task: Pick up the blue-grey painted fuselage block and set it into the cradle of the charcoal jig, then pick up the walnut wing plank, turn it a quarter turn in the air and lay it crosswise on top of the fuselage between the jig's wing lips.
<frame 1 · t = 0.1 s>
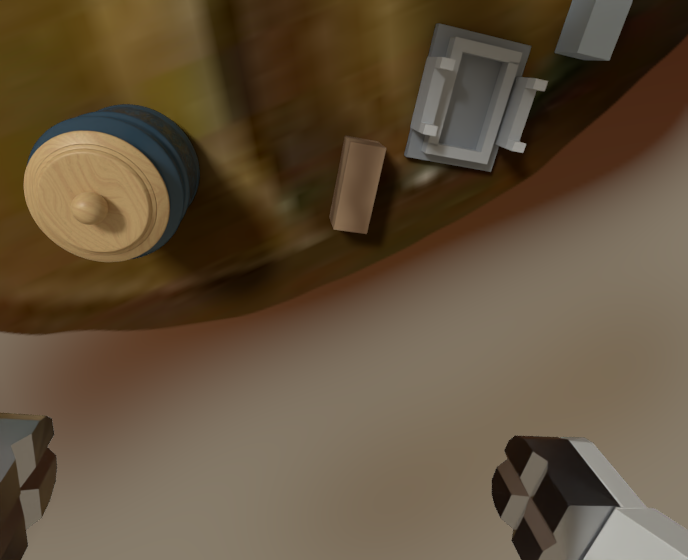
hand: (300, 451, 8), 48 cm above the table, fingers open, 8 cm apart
canister: (141, 164, 51), on the table
wing: (352, 180, 55), on the table
fuselage: (582, 17, 51), on the table
jig: (463, 102, 53), on the table
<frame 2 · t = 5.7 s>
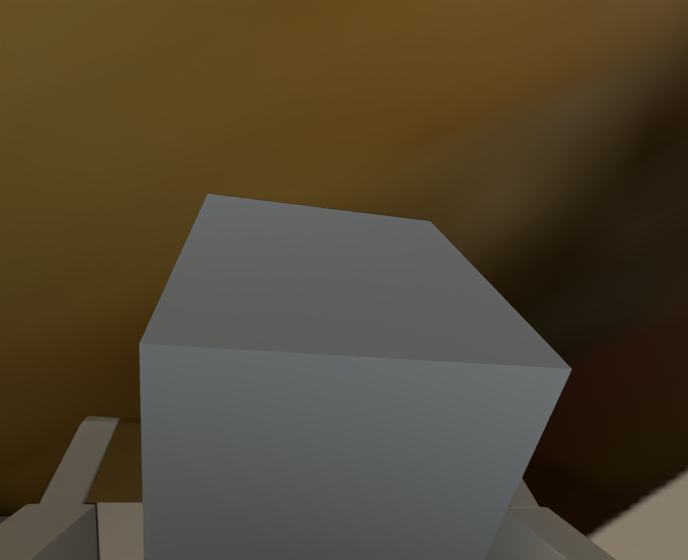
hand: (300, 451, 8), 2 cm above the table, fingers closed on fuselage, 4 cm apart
fuselage: (296, 387, 10), on the table, touching gripper
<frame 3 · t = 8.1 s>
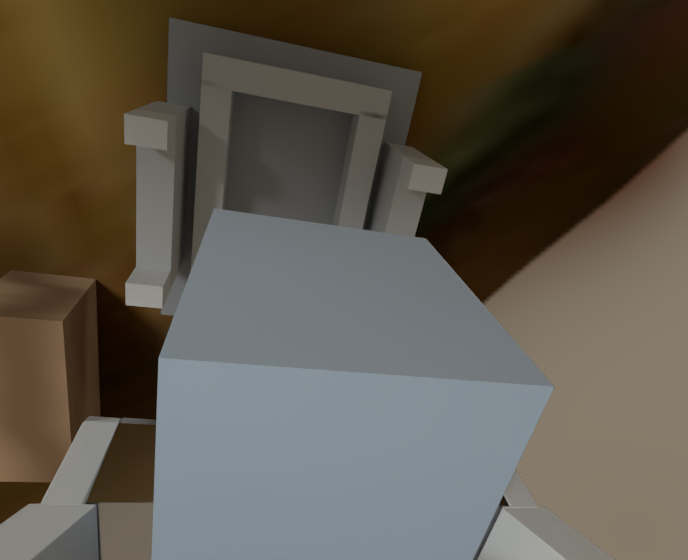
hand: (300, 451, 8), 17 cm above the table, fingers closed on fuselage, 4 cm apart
wing: (61, 352, 26), on the table
fuselage: (293, 395, 10), point 15 cm above the table, touching gripper
jig: (281, 197, 23), on the table
when the fingers open (5 cm above the table, at t = 10.9 s): fuselage drops 2 cm, resting on jig.
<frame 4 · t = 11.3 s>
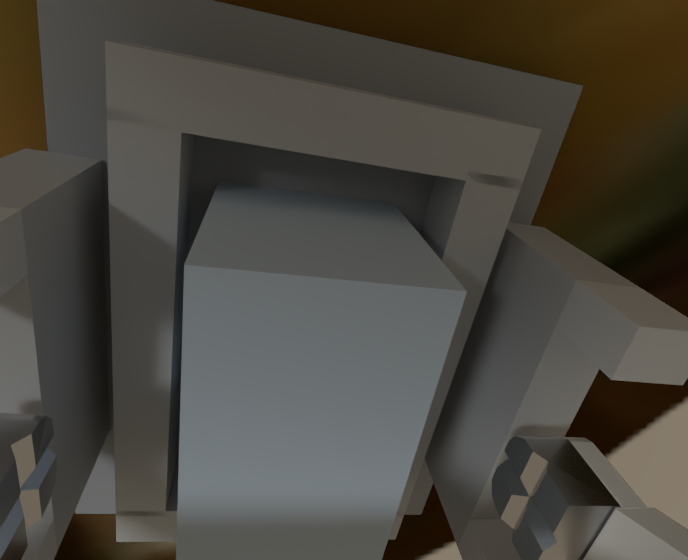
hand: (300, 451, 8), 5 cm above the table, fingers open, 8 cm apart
fuselage: (289, 340, 12), point 1 cm above the table, touching jig
jig: (291, 311, 13), on the table
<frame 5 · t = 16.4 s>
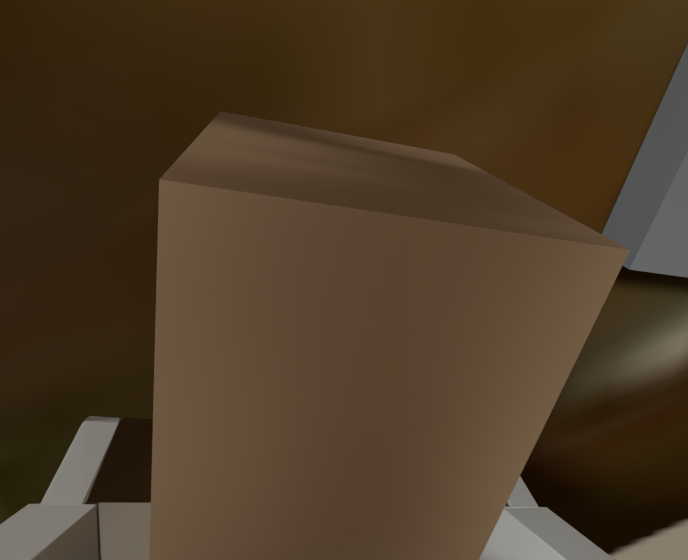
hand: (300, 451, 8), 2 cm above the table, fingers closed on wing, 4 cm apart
wing: (298, 373, 10), on the table, touching gripper
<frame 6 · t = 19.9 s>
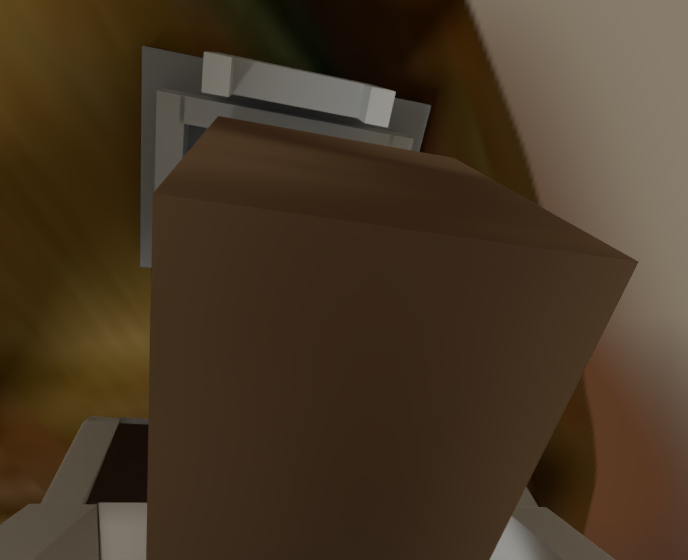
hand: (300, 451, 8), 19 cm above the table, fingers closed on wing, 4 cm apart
wing: (298, 380, 10), point 17 cm above the table, touching gripper
jig: (280, 183, 25), on the table
when the fingers open (8 cm above the table, at t = 23.1 s): wing stays where it is, resting on fuselage.
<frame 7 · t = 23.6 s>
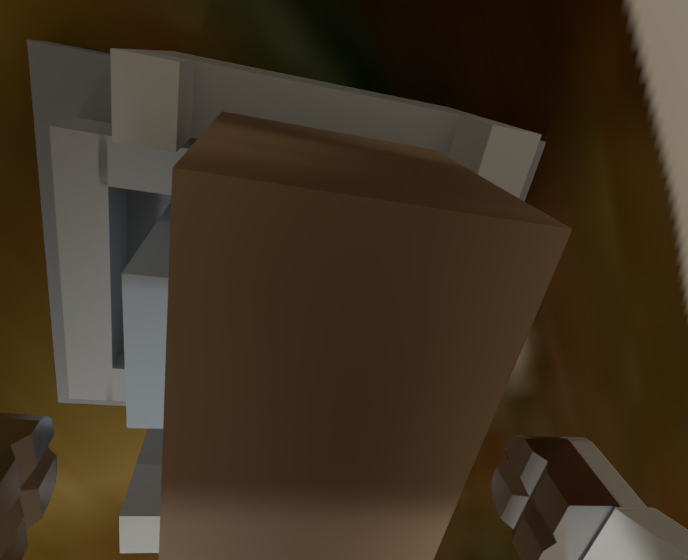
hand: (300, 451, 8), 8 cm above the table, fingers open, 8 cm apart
wing: (294, 356, 10), point 5 cm above the table, touching fuselage
fuselage: (298, 281, 15), point 1 cm above the table, touching jig, wing
jig: (287, 266, 15), on the table
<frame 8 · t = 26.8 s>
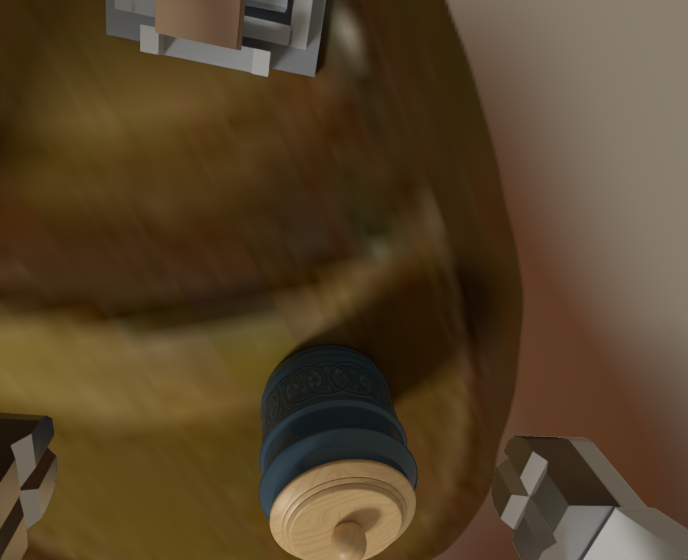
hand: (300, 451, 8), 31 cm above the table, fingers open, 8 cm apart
canister: (324, 392, 48), on the table
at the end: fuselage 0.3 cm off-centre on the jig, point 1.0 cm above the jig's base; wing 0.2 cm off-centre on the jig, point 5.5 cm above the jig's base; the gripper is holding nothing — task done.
